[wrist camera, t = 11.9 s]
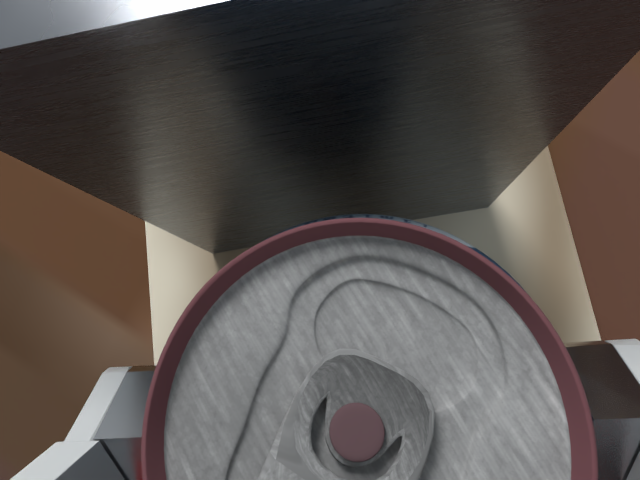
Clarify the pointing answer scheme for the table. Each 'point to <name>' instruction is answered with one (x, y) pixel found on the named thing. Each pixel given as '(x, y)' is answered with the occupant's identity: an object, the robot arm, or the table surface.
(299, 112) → the bookend
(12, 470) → the table surface
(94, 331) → the table surface
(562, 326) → the shelf plank
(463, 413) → the soda can
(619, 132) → the table surface
